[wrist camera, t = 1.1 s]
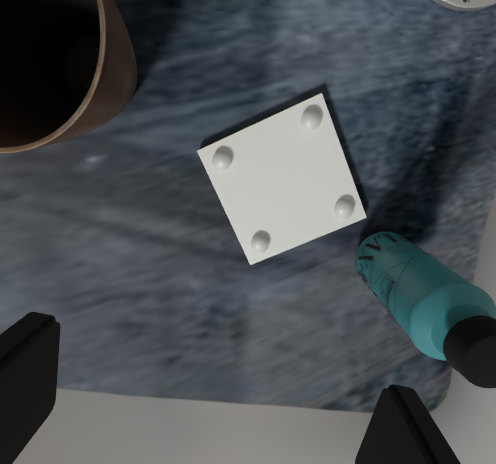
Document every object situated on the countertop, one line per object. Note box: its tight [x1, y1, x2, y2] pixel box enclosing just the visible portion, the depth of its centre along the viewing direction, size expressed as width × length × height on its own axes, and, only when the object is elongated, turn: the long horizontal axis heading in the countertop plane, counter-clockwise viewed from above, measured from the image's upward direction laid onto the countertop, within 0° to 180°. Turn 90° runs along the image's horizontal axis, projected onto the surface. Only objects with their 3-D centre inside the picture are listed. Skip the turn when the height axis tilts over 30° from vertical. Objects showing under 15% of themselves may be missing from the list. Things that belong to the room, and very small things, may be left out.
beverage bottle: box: [355, 231, 496, 388], centre depth 29 cm, size 6×7×20 cm
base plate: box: [197, 93, 367, 265], centre depth 36 cm, size 14×14×2 cm
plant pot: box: [0, 0, 137, 153], centre depth 27 cm, size 15×15×16 cm
